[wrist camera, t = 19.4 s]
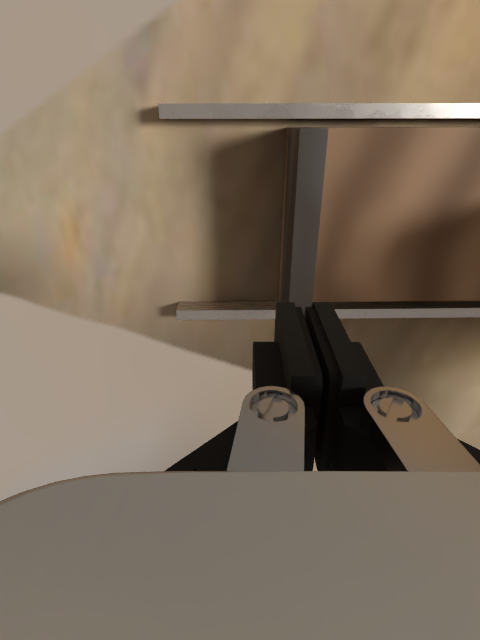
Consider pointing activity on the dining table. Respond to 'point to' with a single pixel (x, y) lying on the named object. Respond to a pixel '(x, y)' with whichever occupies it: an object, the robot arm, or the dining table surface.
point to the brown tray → (380, 215)
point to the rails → (326, 112)
